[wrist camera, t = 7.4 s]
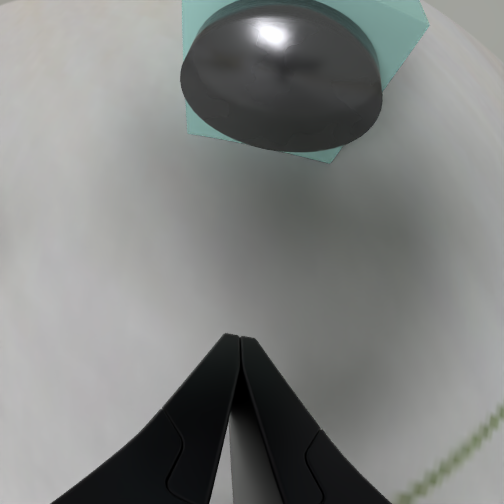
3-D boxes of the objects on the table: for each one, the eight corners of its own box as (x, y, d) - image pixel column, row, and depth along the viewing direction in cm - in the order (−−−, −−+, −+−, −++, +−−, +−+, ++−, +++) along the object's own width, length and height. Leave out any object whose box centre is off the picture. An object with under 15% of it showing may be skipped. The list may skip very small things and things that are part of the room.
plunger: (339, 167, 14) (420, 64, 7) (184, 133, 13) (176, 1, 7) (340, 18, 17) (375, -59, 10) (238, -6, 16) (252, -90, 10)
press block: (330, 163, 17) (429, 25, 7) (187, 133, 17) (181, -39, 7) (334, 38, 20) (382, -68, 10) (231, 14, 20) (249, -101, 10)
